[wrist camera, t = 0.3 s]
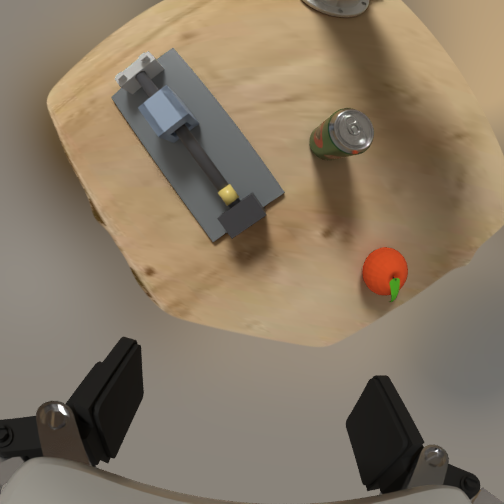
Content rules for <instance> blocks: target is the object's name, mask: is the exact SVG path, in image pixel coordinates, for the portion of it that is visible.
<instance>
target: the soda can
mask: <svg viewBox="0 0 504 504" xmlns="http://www.w3.org/2000/svg"><path fill="white" fill-rule="evenodd" d="M373 137H374V129H373V125H372V123H371V121H370V119H369V118H368V117H367V116H366V115H365V114H364V113H362V112H360V111H358V110H355V109H351V108H344V109H340V110H338V111H336V112H335V113H334V114H332V115H331V116H330V117H329V118H328V119H326V120H325V121H324V122H323V123H322V124H320V125H319V126H318V127H317V128H316V129H314V131H313V132H312V133H311V136H310V147H311V150H312V151H313V153H314V154H315V155H316V156H317V157H319V158H321V159H323V160H335V159H339V158H343V157H348V156H353V155H357V154H361V153H363V152H365V151H366V150H367V149H368V148H369V147H370V145H371V143H372V140H373Z"/></svg>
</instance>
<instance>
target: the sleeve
mask: <svg viewBox="0 0 504 504" xmlns="http://www.w3.org/2000/svg"><path fill="white" fill-rule="evenodd" d="M138 109H139V110H140V112H141V113H142V115H143V116H144V117H145V119H146V120H147V122H148V123H149V125H150V126H151V127H152V129H153V130H154V132H155V133H156V134H157V136H158V137H160V138H162V139H165V140H168V141H170V142H173V143H175V142H176V141H177V140H178V139H180V138H179V137H178V136H177V134H176V133H175V132H174V131H175V130H177V129H178V128H179V127H181V126H182V125H183V124H185V125H186V126H187V128H188V129H189V130H191V129H193V128H194V127H196V126H197V125H198V124H200V123H199V122H198V121H197V119H196V118H195V117H194V115H193V114H192V113H191V111H190V110H189V109H188V108H187V106H186V105H185V104H184V102H183V101H182V100H181V98H180V97H179V96H178V95H177V94H175V93H174V92H173V91H172V90H171V89H170V88H169V87H168V86H167V85H165V86H164V87H163V88H161V89H160V90H159V91H158V92H156V93H155V94H154V95H153V96H151V97H150V98H149V99H148V100H146V101H145V102H144V103H143V104H142V105H140V106H139V107H138Z"/></svg>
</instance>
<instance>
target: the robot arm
mask: <svg viewBox="0 0 504 504" xmlns="http://www.w3.org/2000/svg"><path fill="white" fill-rule="evenodd" d="M303 1H304V2H305V3H306V4H307V5H309V6H310V7H312V8H314V9H315V10H317V11H320V12H322V13H325V14H328V15H331V16H336V17H354V16H358V15H360V14H362V13H363V12H364V11H365V10H366V8H367V7H368V5H369V0H303ZM143 393H144V391H143V377H142V357H141V346H140V345H138V344H137V341H136V340H133V339H130V338H126V337H122V338H121V339H120V340H119V342H118V343H117V344H116V345H115V347H114V348H113V349H112V351H111V352H110V353H109V355H108V356H107V357H106V359H105V360H104V361H103V362H98V363H96V364H95V366H94V367H93V368H92V370H91V371H90V372H89V373H88V375H87V376H86V377H85V379H84V380H83V381H82V383H81V384H80V385H79V387H78V388H77V389H76V391H75V392H74V393H73V395H72V396H71V397H70V399H69V400H68V401H67V403H66V404H64V403H62V402H59V401H49V402H45V403H43V404H42V405H41V406H40V407H39V408H38V410H37V412H36V416H31V417H23V418H15V419H5V420H0V504H257V503H244V502H233V501H225V500H217V499H210V498H204V497H198V496H192V495H188V494H183V493H178V492H174V491H170V490H166V489H162V488H158V487H155V486H151V485H147V484H143V483H140V482H137V481H134V480H131V479H128V478H125V477H122V476H119V475H116V474H113V473H110V472H107V471H104V470H101V469H99V468H97V467H96V465H98V464H99V461H100V460H101V461H104V462H106V463H108V462H109V460H110V458H115V457H116V455H117V453H118V451H119V448H120V446H121V444H122V442H123V440H124V437H125V435H126V433H127V431H128V428H129V426H130V424H131V422H132V420H133V418H134V415H135V413H136V411H137V409H138V407H139V405H140V403H141V401H142V398H143ZM346 428H347V431H348V435H349V438H350V442H351V445H352V448H353V452H354V455H355V458H356V462H357V466H358V469H359V473H360V476H361V480H362V483H363V485H366V488H367V491H370V490H375V489H379V488H380V491H381V492H380V494H379V495H377V496H371V497H366V498H360V499H353V500H345V501H337V502H327V503H312V504H504V503H503V502H502V501H500V500H499V499H498V498H496V497H495V496H494V495H492V494H491V493H490V492H488V491H487V490H485V489H484V488H482V489H480V481H479V480H478V478H477V477H476V476H475V475H474V474H472V473H469V472H467V471H464V470H462V469H460V468H457V467H455V466H452V465H450V464H448V463H449V457H448V454H447V452H446V451H445V450H444V449H443V448H442V447H440V446H438V445H427V446H425V447H423V445H422V444H423V443H424V441H423V439H422V437H421V435H420V433H419V431H418V429H417V427H416V425H415V423H414V421H413V420H412V418H411V416H410V414H409V412H408V410H407V408H406V407H405V405H404V403H403V401H402V399H401V398H400V396H399V394H398V393H397V391H396V389H395V387H394V385H393V383H392V382H391V380H390V378H389V377H388V376H374V377H373V378H372V379H370V380H369V381H368V383H367V385H366V387H365V389H364V391H363V393H362V394H361V396H360V398H359V400H358V402H357V403H356V405H355V407H354V409H353V410H352V412H351V414H350V415H349V417H348V419H347V421H346ZM6 483H7V484H6ZM4 484H6V486H5V487H4V489H3V490H2V492H1V489H2V486H3V485H4Z"/></svg>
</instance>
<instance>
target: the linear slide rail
mask: <svg viewBox="0 0 504 504" xmlns="http://www.w3.org/2000/svg"><path fill="white" fill-rule="evenodd" d="M115 77H116V78H115V80H116V81H117V83H118V84H119V86H120V87H121V89H120V90H119V91H118V92H116V93H115V94H114V95H113V96H112V97H111V98H112V99H113V101H114V102H115V104H116V105H117V107H118V108H119V110H120V111H121V113H122V114H123V116H124V117H125V119H126V120H127V122H128V123H129V125H130V126H131V128H132V129H133V130H134V132H135V133H136V135H137V136H138V138H139V139H140V141H141V142H142V144H143V145H144V146H145V148H146V149H147V151H148V152H149V154H150V155H151V156H152V158H153V159H154V161H155V162H156V164H157V165H158V166H159V168H160V169H161V171H162V172H163V174H164V175H165V176H166V178H167V179H168V181H169V182H170V183H171V185H172V186H173V188H174V189H175V190H176V192H177V193H178V195H179V196H180V197H181V199H182V200H183V202H184V203H185V204H186V206H187V207H188V209H189V210H190V211H191V213H192V214H193V215H194V217H195V218H196V220H197V221H198V222H199V224H200V225H201V226H202V228H203V229H204V230H205V232H206V233H207V235H208V236H209V237H210V239H211V240H212V241H213V242H214V241H215V240H217V239H218V238H219V237H221V236H222V235H224V234H225V233H228V234H229V236H230V237H231V238H234V237H235V236H237V235H238V234H240V233H241V232H242V231H244V230H245V229H247V228H248V227H250V226H251V225H253V224H254V223H256V222H257V221H258V220H260V219H261V218H263V217H264V216H266V211H265V208H264V206H266V205H267V204H268V203H270V202H271V201H273V200H274V199H276V198H277V197H279V196H280V195H282V194H283V193H285V192H284V191H283V189H282V188H281V187H280V185H279V184H278V182H277V181H276V179H275V178H274V176H273V175H272V174H271V172H270V171H269V169H268V168H267V167H266V165H265V164H264V162H263V161H262V160H261V158H260V157H259V155H258V154H257V153H256V151H255V150H254V149H253V147H252V146H251V144H250V143H249V142H248V140H247V139H246V138H245V136H244V135H243V134H242V132H241V131H240V130H239V128H238V127H237V126H236V124H235V123H234V122H233V120H232V119H231V118H230V117H229V115H228V114H227V113H226V111H225V110H224V109H223V108H222V106H221V105H220V104H219V102H218V101H217V100H216V99H215V97H214V96H213V95H212V94H211V92H210V91H209V90H208V89H207V87H206V86H205V85H204V84H203V83H202V81H201V80H200V79H199V78H198V76H197V75H196V74H195V73H194V72H193V70H192V69H191V68H190V67H189V66H188V65H187V63H186V62H185V61H184V60H183V59H182V57H181V56H180V55H179V54H178V53H177V52H176V51H175V49H174V48H172V49H171V50H169V51H168V52H166V53H165V54H163V55H162V56H161V57H159V58H158V59H156V58H155V57H154V56H153V55H152V54H151V53H150V52H149V51H148V52H146V53H145V52H144V53H143V54H141V55H140V56H139V59H137V60H136V61H135V62H134V63H132V64H131V65H130V66H129V67H128V68H126V69H125V70H124V71H123V72H120V73H118V74H117V75H116V76H115ZM165 85H167V86H168V87H169V88H170V89H171V90H172V91H173V92H174V93H175V94H177V95H178V96H179V97H180V98H181V100H182V101H183V102H184V104H185V105H186V106H187V108H188V109H189V110H190V111H191V113H192V114H193V115H194V117H195V118H196V119H197V121H198V122H199V123H200V124H198V125H197V126H196V127H194V128H193V129H191V130H189V129H188V128H187V126H186V125H185V124H183V125H182V126H181V127H179V128H178V129H177V130H175V131H174V132H175V133H176V134H177V136H178V137H179V138H180V139H178V140H177V141H176V142H175V143H173V142H170V141H168V140H165V139H162V138H160V137H158V136H157V134H156V133H155V132H154V130H153V129H152V127H151V126H150V125H149V123H148V122H147V120H146V119H145V117H144V116H143V115H142V113H141V112H140V110H139V109H138V107H139V106H140V105H142V104H143V103H144V102H145V101H146V100H148V99H149V98H150V97H151V96H153V95H154V94H155V93H156V92H158V91H159V90H160V89H161V88H163V87H164V86H165Z"/></svg>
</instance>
